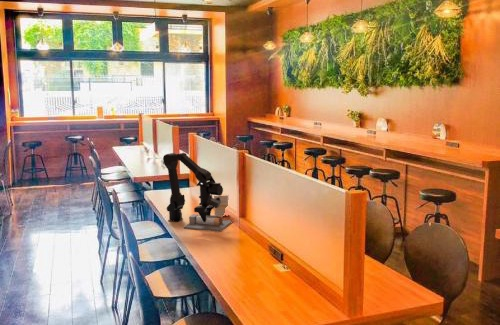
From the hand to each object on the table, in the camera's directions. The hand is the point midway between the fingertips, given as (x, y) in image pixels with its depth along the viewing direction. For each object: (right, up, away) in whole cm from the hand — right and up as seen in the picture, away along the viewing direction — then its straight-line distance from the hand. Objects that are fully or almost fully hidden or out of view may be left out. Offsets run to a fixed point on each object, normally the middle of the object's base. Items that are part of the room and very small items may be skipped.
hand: (206, 220), depth 279 cm
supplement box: (+8, +1, +19) cm, 21 cm away
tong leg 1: (+1, -2, -2) cm, 3 cm away
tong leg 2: (+2, -1, +2) cm, 3 cm away
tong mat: (+1, -3, 0) cm, 3 cm away
